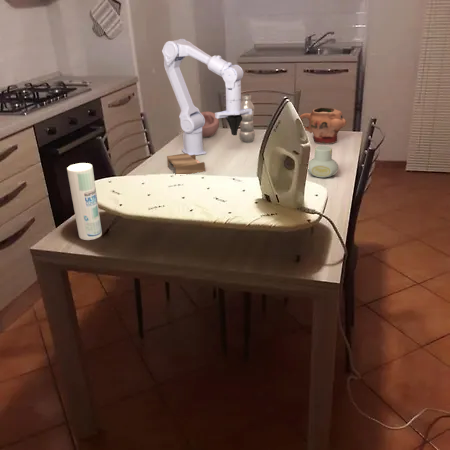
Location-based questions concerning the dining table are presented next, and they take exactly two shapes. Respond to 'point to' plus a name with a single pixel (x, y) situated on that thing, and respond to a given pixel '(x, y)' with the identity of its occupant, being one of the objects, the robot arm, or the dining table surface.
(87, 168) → the spray can
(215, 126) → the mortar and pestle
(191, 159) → the cubby
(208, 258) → the dining table surface
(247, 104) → the plastic bottle
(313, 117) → the decorative planter
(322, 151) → the air freshener
